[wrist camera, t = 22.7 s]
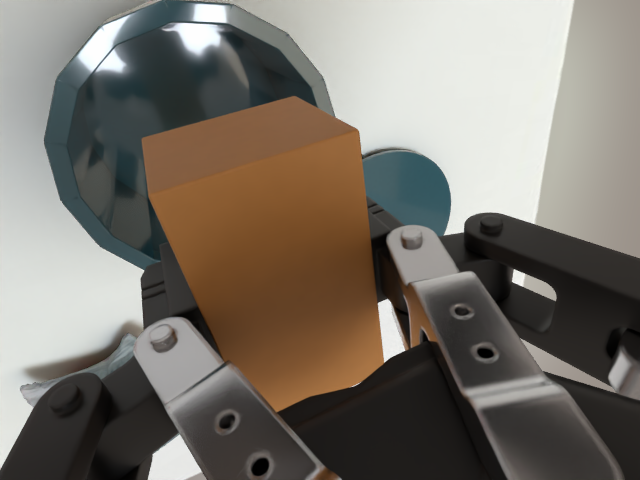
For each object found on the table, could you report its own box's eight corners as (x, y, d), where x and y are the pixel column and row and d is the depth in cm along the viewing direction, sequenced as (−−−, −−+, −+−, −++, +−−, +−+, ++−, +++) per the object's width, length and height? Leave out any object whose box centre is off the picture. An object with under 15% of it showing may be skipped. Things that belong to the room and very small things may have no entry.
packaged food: (111, 445, 36) (111, 498, 33) (23, 369, 30) (8, 424, 26) (201, 397, 38) (211, 442, 34) (137, 314, 31) (140, 358, 27)
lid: (272, 240, 33) (300, 285, 28) (394, 110, 31) (448, 132, 26) (366, 310, 41) (401, 355, 36) (465, 211, 40) (517, 242, 35)
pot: (17, 126, 23) (-29, 179, 16) (170, -58, 21) (192, -86, 15) (202, 244, 30) (224, 313, 24) (321, 115, 29) (380, 148, 23)
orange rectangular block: (140, 137, 10) (147, 195, 7) (295, 95, 12) (359, 129, 8) (227, 342, 15) (255, 434, 12) (333, 298, 16) (385, 370, 13)
